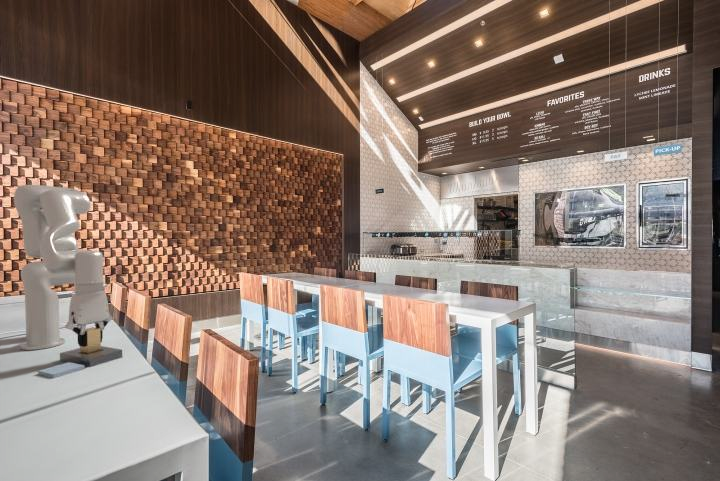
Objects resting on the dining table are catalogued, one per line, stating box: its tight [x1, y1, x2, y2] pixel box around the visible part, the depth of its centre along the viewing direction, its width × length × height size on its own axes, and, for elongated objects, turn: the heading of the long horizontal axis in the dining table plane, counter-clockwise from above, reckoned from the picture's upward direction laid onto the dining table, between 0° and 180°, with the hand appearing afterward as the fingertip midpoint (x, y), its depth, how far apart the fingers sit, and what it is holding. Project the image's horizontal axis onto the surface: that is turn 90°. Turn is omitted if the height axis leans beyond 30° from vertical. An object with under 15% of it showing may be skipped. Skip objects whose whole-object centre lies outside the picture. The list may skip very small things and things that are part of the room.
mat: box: [37, 362, 85, 379], centre depth 110 cm, size 8×8×1 cm
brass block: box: [79, 326, 102, 355], centre depth 121 cm, size 4×4×8 cm
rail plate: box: [59, 345, 123, 368], centre depth 121 cm, size 16×10×2 cm, turn 66°
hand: (90, 343), depth 121 cm, fingers closed on brass block, 4 cm apart
